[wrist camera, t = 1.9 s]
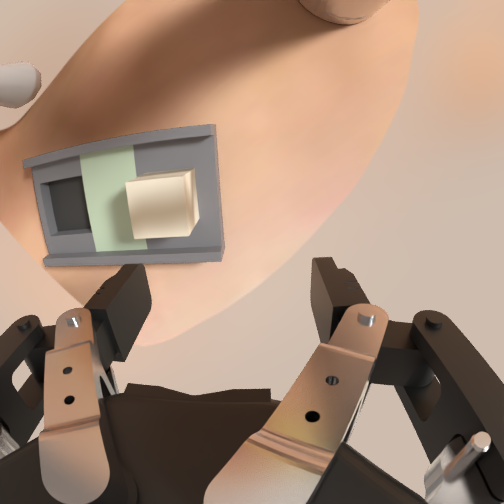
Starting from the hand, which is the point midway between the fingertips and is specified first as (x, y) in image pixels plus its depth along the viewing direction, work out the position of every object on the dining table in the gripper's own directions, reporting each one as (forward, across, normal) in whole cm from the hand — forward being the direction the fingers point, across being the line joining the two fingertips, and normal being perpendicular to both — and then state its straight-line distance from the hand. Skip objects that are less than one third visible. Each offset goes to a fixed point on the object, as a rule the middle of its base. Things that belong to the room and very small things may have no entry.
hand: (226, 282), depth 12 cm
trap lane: (+20, +14, 0) cm, 24 cm away
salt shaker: (+20, +26, -16) cm, 36 cm away
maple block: (+18, +7, 0) cm, 19 cm away
